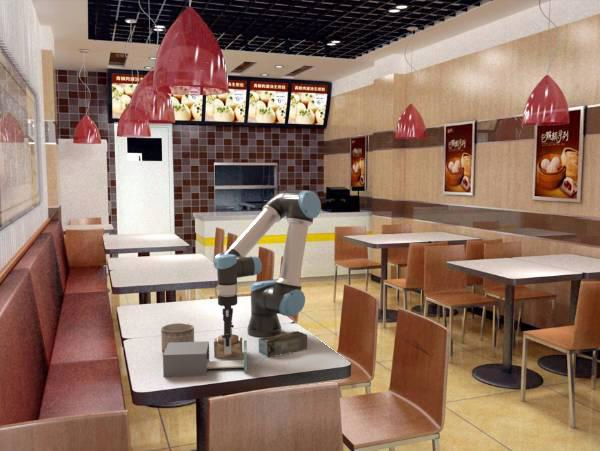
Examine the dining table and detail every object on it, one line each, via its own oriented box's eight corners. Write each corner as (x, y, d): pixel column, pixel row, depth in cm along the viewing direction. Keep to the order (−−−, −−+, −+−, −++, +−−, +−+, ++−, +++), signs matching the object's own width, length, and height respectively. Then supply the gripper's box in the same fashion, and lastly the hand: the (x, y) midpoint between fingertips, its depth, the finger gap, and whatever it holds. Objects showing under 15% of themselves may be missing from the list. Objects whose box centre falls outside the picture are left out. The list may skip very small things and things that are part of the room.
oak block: (242, 352, 225) (242, 337, 224) (242, 356, 220) (242, 341, 220) (214, 353, 224) (214, 338, 223) (214, 357, 219) (213, 341, 219)
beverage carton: (257, 352, 226) (257, 336, 225) (298, 344, 236) (298, 329, 235) (267, 358, 219) (267, 341, 218) (308, 349, 229) (308, 333, 229)
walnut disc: (238, 339, 226) (238, 333, 226) (238, 345, 218) (238, 339, 218) (218, 339, 225) (218, 334, 225) (217, 346, 217) (217, 340, 217)
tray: (246, 359, 216) (246, 340, 215) (246, 372, 202) (246, 352, 201) (207, 360, 215) (207, 341, 214) (204, 373, 201) (204, 353, 200)
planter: (159, 350, 229) (158, 325, 228) (190, 346, 234) (190, 321, 233) (165, 359, 217) (164, 333, 216) (197, 355, 222) (197, 329, 221)
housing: (209, 361, 215) (208, 341, 214) (206, 375, 200) (206, 353, 200) (169, 362, 214) (168, 342, 213) (163, 376, 199) (162, 355, 198)
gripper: (219, 288, 231) (220, 340, 234) (216, 301, 208) (217, 359, 210) (237, 288, 232) (238, 339, 234) (236, 301, 208) (237, 358, 210)
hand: (228, 349), depth 222 cm, fingers open, 12 cm apart
